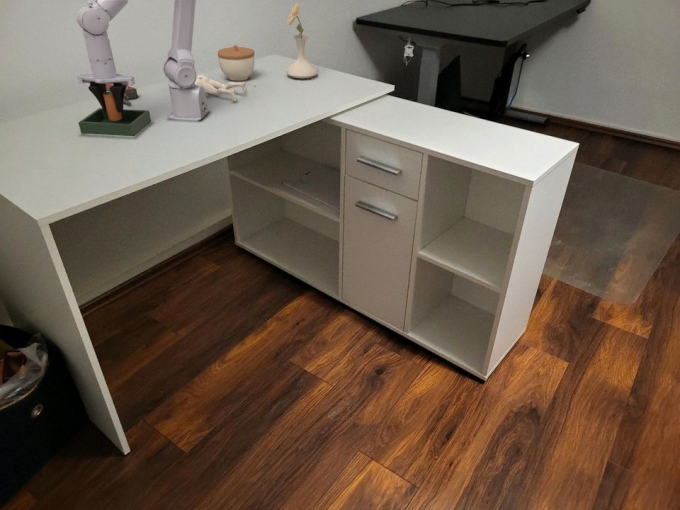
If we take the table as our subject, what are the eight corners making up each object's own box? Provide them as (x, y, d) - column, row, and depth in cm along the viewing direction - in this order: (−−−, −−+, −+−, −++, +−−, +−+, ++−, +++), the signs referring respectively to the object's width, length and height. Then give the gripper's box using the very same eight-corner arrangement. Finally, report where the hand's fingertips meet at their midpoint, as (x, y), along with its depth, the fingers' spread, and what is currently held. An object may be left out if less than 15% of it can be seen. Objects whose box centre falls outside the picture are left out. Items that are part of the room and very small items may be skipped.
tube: (124, 116, 143) (118, 91, 139) (118, 121, 140) (112, 95, 136) (112, 116, 143) (106, 90, 139) (106, 120, 141) (100, 94, 137)
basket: (151, 122, 148) (149, 110, 146) (134, 138, 138) (131, 125, 136) (102, 120, 149) (99, 107, 147) (81, 135, 139) (78, 122, 137)
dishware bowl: (253, 83, 180) (250, 50, 174) (217, 82, 180) (213, 49, 174) (258, 73, 191) (256, 41, 184) (224, 72, 191) (220, 40, 184)
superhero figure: (250, 97, 171) (187, 88, 179) (249, 78, 169) (185, 70, 176) (230, 103, 162) (165, 94, 170) (229, 83, 159) (163, 75, 167)
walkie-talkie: (92, 95, 167) (128, 109, 157) (89, 81, 165) (125, 94, 154) (117, 89, 173) (153, 102, 163) (114, 75, 170) (150, 88, 160)
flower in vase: (289, 71, 194) (287, -3, 180) (319, 73, 193) (319, -1, 179) (281, 81, 184) (278, 3, 169) (313, 83, 182) (312, 5, 168)
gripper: (65, 61, 130) (80, 114, 138) (121, 63, 129) (133, 117, 137) (80, 54, 136) (93, 105, 144) (133, 56, 135) (144, 108, 143)
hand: (113, 110), depth 141 cm, fingers closed on tube, 3 cm apart
